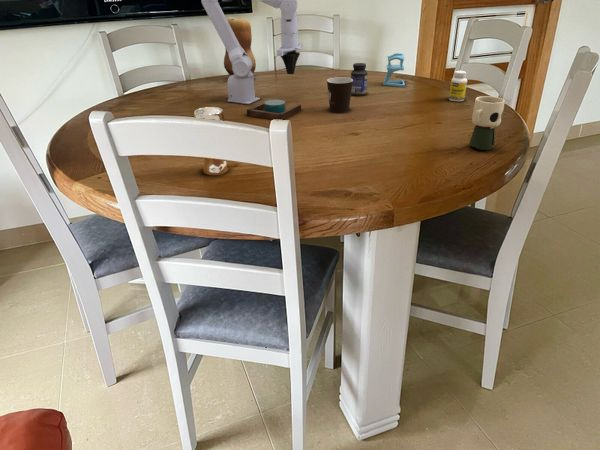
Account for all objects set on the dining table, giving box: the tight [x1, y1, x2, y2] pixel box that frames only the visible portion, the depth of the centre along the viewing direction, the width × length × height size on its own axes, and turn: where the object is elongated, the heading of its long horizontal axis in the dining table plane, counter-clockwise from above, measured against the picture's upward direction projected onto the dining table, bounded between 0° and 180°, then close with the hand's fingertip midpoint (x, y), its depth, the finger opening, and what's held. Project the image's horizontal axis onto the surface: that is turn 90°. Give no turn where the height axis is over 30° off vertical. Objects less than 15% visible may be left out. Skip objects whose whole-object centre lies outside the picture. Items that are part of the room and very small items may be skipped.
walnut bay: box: [246, 99, 302, 121], centre depth 155 cm, size 13×13×2 cm
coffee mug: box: [326, 76, 353, 114], centre depth 156 cm, size 12×9×10 cm
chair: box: [382, 52, 406, 88], centre depth 184 cm, size 8×8×12 cm
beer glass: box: [193, 106, 229, 176], centre depth 110 cm, size 7×7×15 cm
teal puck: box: [264, 99, 287, 113], centre depth 155 cm, size 7×7×4 cm
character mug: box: [468, 95, 506, 151], centre depth 120 cm, size 11×7×13 cm, turn 130°
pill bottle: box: [350, 62, 368, 97], centre depth 172 cm, size 6×6×11 cm
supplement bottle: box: [448, 70, 468, 103], centre depth 163 cm, size 5×5×10 cm
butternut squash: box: [223, 16, 257, 77], centre depth 194 cm, size 14×13×25 cm
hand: (290, 73), depth 165 cm, fingers closed
